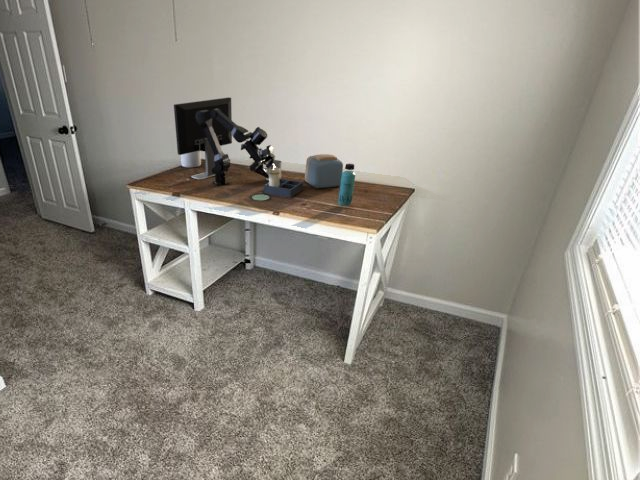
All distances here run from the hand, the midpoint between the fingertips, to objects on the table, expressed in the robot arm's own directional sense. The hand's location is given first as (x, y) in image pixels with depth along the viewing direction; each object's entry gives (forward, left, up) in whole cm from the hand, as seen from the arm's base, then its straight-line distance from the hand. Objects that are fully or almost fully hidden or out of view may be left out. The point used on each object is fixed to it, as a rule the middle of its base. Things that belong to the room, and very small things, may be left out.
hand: (272, 175), depth 215 cm
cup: (-20, +13, -9) cm, 25 cm away
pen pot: (+1, +1, -8) cm, 8 cm away
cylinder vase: (-72, -16, -9) cm, 74 cm away
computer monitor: (-47, -15, -9) cm, 50 cm away
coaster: (+5, -10, -9) cm, 14 cm away
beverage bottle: (+35, +19, -9) cm, 41 cm away
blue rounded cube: (+1, +32, -9) cm, 33 cm away
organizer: (+2, +6, -9) cm, 11 cm away
